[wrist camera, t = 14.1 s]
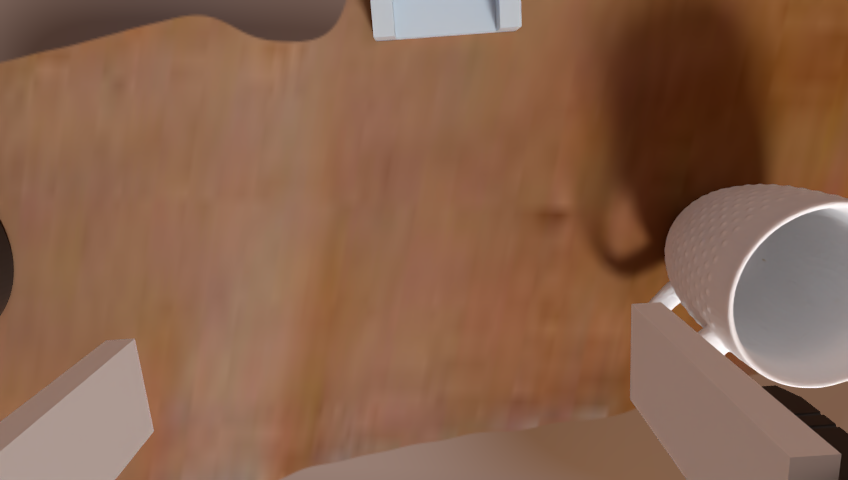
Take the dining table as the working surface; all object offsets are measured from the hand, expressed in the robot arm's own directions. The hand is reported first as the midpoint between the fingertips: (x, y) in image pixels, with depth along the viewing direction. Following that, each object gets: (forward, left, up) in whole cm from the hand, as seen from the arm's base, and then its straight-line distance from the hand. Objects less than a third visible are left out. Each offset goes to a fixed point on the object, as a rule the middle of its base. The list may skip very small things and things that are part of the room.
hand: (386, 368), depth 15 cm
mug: (+22, -6, -29) cm, 37 cm away
